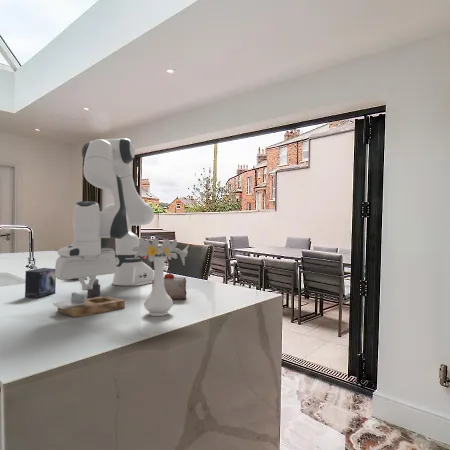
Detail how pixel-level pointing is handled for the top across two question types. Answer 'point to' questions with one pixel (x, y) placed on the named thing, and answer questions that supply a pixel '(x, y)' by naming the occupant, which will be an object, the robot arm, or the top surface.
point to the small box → (40, 282)
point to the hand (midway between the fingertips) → (87, 289)
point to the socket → (94, 306)
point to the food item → (174, 286)
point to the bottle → (94, 290)
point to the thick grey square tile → (71, 301)
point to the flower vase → (159, 272)
